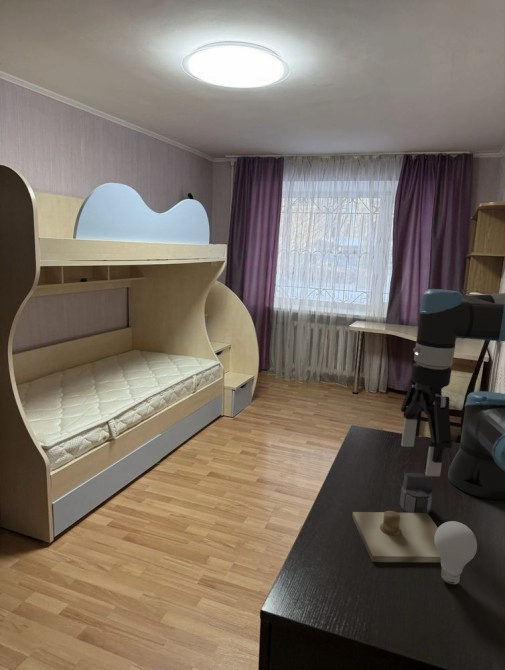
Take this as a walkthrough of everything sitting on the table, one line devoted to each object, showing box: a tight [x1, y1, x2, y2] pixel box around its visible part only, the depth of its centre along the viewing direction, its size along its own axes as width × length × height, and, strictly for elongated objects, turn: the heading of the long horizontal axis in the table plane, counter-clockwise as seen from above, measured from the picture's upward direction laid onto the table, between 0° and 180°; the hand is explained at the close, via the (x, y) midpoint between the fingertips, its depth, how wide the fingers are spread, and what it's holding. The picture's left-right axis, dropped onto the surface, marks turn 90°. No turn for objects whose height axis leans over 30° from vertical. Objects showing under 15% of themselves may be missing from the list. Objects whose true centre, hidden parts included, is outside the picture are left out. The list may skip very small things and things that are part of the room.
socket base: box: [351, 510, 441, 563], centre depth 92 cm, size 16×14×4 cm
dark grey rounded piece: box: [399, 472, 434, 514], centre depth 103 cm, size 6×6×8 cm
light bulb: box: [434, 520, 478, 585], centre depth 80 cm, size 7×7×11 cm
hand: (419, 459), depth 101 cm, fingers open, 13 cm apart
